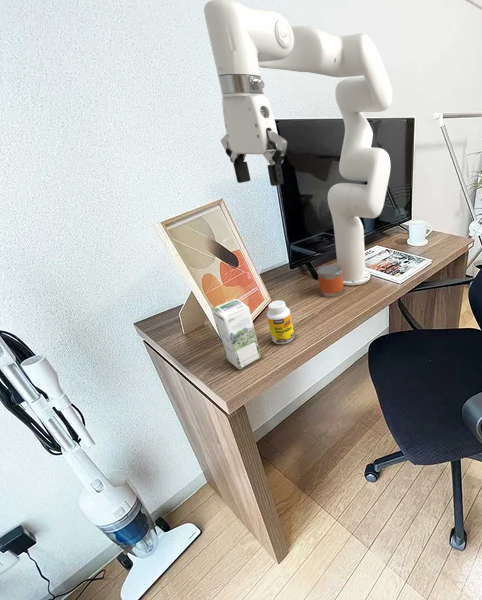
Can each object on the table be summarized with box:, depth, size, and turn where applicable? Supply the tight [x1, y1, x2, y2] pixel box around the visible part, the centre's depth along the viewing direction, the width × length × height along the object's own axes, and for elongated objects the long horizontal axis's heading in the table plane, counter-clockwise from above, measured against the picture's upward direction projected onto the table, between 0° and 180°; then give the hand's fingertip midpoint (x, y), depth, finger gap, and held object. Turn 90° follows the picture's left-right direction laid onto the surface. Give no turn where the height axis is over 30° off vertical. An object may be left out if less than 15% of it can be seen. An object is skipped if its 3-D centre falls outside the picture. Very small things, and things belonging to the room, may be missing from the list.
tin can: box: [317, 264, 344, 298], centre depth 103 cm, size 8×8×8 cm
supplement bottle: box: [266, 299, 295, 345], centre depth 81 cm, size 6×6×10 cm
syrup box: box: [210, 298, 262, 371], centre depth 73 cm, size 6×6×14 cm
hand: (260, 183), depth 70 cm, fingers open, 9 cm apart
